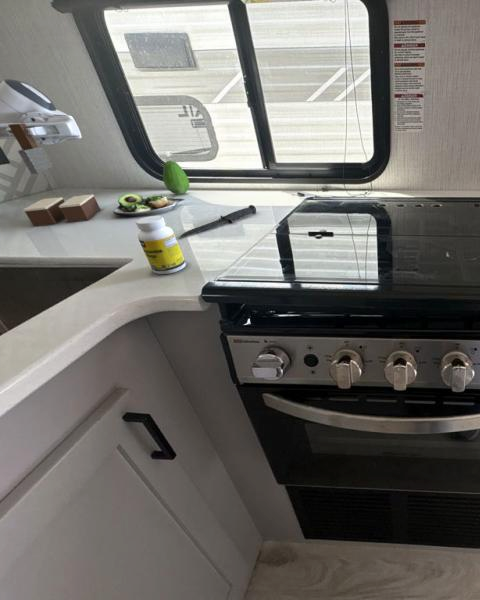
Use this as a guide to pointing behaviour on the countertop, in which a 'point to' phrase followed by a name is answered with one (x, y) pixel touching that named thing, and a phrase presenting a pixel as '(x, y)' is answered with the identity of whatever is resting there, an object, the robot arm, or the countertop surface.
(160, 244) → the pill bottle
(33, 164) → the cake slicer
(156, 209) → the salad plate
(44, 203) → the cake
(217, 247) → the countertop surface
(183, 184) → the avocado
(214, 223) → the knife
